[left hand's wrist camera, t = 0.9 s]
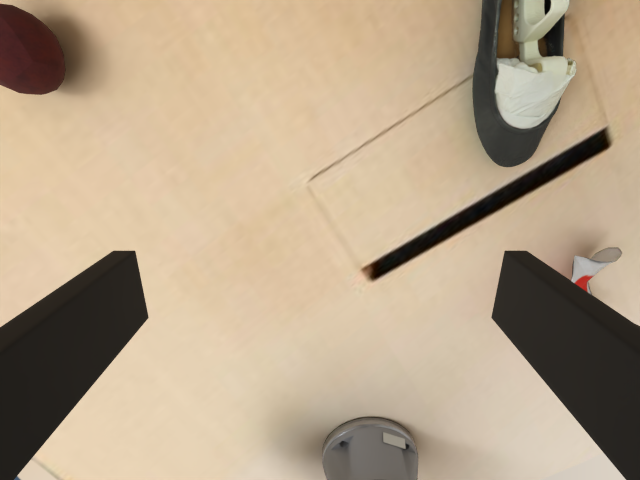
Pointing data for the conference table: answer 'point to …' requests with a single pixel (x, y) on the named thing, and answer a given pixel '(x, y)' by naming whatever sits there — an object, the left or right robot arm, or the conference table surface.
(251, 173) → the conference table surface
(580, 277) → the fish
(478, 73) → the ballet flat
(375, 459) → the left robot arm
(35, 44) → the dark red ball
